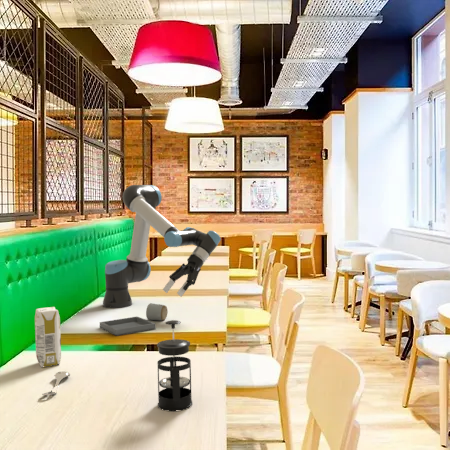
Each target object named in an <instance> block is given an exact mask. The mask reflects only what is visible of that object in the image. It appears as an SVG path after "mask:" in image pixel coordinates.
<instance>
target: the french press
mask: <svg viewBox="0 0 450 450" xmlns="http://www.w3.org/2000/svg"><path fill="white" fill-rule="evenodd" d="M181 323H182V321H180V320H176V319H175V320H174V319H171V320H167V321H165V324H166V325H169V326H170V325H171V329H172V339H166V340H161V341H159V342H157V344H156V346H157V348H158V354H160V355H162V356H168V357H164V358H160V359H158V361H157V363H156V365H157V388H158V390H157V392H158V394H157V395H158V397H157V399H158V403H157V407H158V409H160V410H162V409H163V410H162V411H165V410H169V411H168V412H177V411H176V410H181V411H184V410H183V409H185V410H187V409H186V408H188V409H189V407H190V406H191V405H192V406H193V400H192V372H191V371H192V369H191V368H192V364H191V359H190V358H188V357H184V356H181V355H184V354H187V353H189V346H190V345H191V342H190V341H189V340H186V339H179V338H177V339H176V338H175V329H176V325H180V324H181ZM177 362H183V363H185V364H182V365H177ZM166 363H169V365H163V364H166ZM187 369H189V378H188V377H184V376H181V375H180V371H185V370H187ZM159 371H162V372H163V371H164V372H169V374H170V376H168V377H164V378H162V379H160V372H159ZM187 386H189V388H187ZM160 387H161V388H163V389H161V390H160ZM192 406H191V407H192ZM191 407H190V408H191Z"/></svg>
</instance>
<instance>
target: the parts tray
mask: <svg viewBox="0 0 450 450" xmlns="http://www.w3.org/2000/svg"><path fill="white" fill-rule="evenodd" d="M99 328H100V329H102V330H103V331H105V330H106V332H107V331H108V333H110V334H112V335H114V336H115V337H119V336H125V335H129V334H135V333H142V332H148V331H153V330H156V328H157V327H156V323H155V322H154V321H151V320H148V319H145V318H142V317H139V316H132V317H124V318H120V319H119V318H118V319H113V320H106V321H100V322H99Z"/></svg>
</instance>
